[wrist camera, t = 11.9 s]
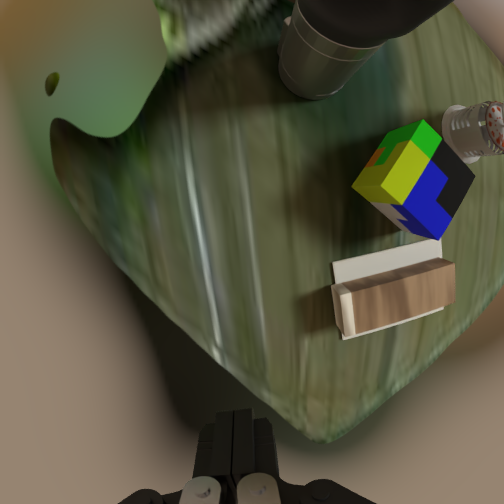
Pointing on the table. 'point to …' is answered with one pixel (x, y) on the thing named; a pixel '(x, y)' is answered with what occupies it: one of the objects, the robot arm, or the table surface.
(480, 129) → the french press
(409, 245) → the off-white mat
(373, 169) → the puzzle toy
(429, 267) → the walnut block
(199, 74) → the table surface
